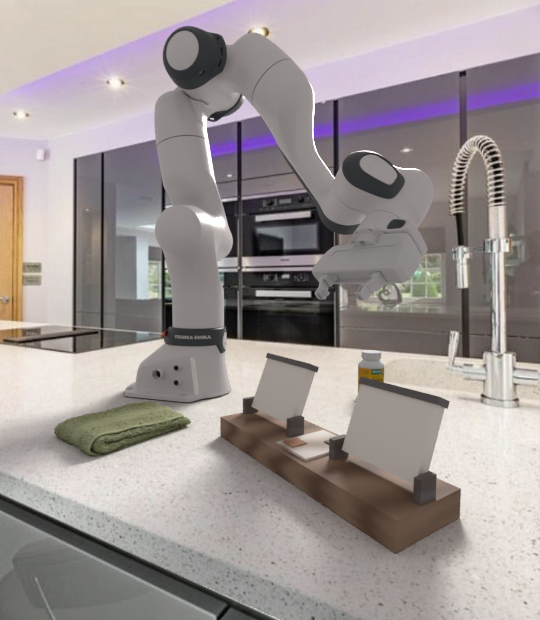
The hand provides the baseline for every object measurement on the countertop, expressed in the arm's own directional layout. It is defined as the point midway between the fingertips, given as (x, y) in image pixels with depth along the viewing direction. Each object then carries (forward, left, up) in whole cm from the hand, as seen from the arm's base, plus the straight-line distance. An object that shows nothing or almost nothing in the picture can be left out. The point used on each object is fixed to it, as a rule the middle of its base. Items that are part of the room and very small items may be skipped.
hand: (338, 297), depth 67 cm
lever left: (-10, -9, -18) cm, 23 cm away
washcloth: (-34, -7, -22) cm, 41 cm away
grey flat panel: (+3, -24, -18) cm, 31 cm away
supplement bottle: (+8, +18, -22) cm, 29 cm away
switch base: (-4, -17, -21) cm, 27 cm away
